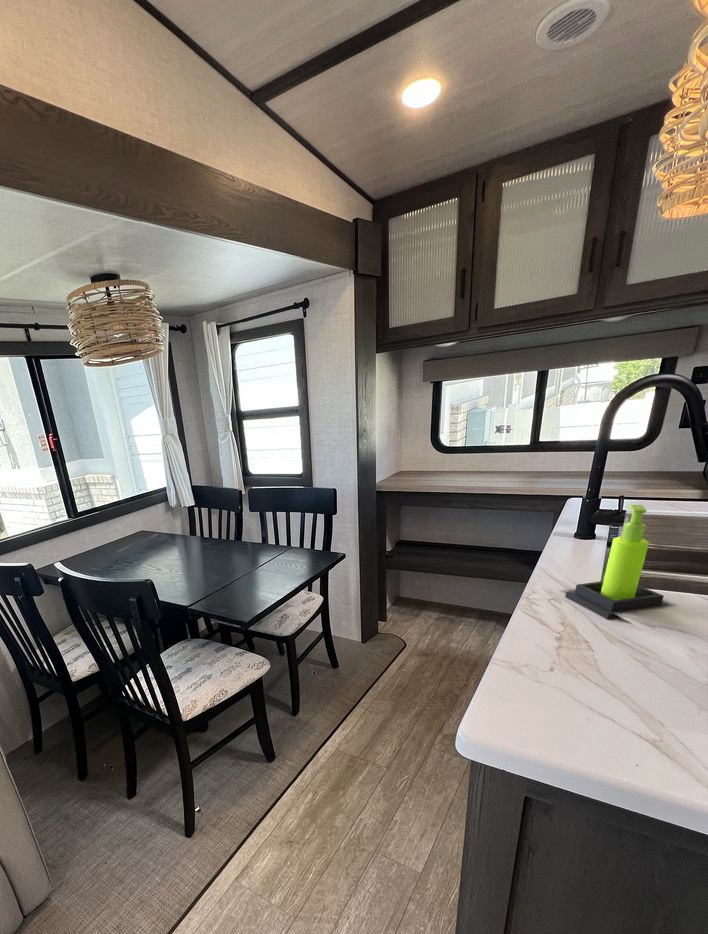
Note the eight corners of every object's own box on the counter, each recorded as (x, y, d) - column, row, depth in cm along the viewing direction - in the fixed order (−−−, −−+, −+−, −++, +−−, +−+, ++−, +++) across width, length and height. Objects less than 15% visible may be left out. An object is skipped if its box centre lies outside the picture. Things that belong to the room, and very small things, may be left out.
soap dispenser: (628, 592, 103) (652, 503, 95) (636, 605, 97) (661, 511, 89) (596, 590, 105) (617, 502, 97) (602, 602, 100) (624, 510, 92)
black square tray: (621, 589, 108) (624, 576, 106) (669, 610, 97) (674, 596, 95) (565, 596, 106) (567, 583, 105) (607, 619, 95) (610, 605, 94)
